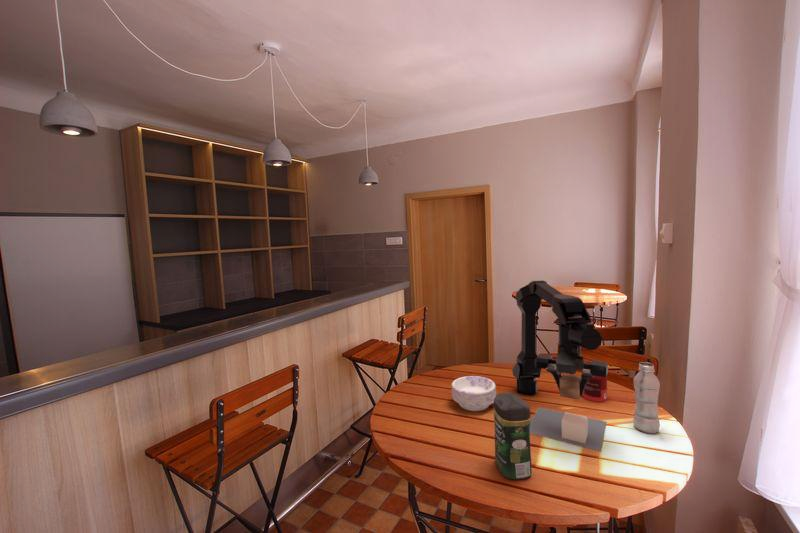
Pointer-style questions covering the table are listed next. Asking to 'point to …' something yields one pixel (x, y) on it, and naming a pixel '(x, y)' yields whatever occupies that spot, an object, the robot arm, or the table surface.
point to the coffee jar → (512, 436)
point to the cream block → (575, 427)
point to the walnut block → (570, 386)
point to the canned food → (596, 389)
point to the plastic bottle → (646, 399)
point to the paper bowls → (473, 392)
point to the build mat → (551, 427)
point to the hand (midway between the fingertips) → (570, 393)
